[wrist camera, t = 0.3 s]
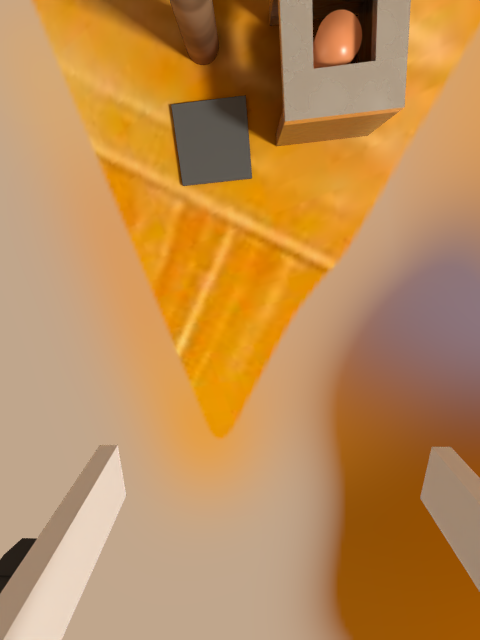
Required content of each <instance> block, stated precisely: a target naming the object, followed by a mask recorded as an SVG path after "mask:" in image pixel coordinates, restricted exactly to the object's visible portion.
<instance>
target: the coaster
mask: <svg viewBox="0 0 480 640" xmlns="http://www.w3.org/2000/svg"><path fill="white" fill-rule="evenodd" d="M171 106H172V113H173V120H174V127H175V134H176V141H177V148H178V155H179V162H180V169H181V176H182V183H183V186H188V185H197V184H206V183H215V182H224V181H233V180H242V179H252V172H251V159H250V146H249V134H248V121H247V108H246V95H245V96H237V97H229V98H221V99H213V100H205V101H197V102H189V103H181V104H173V105H171Z"/></svg>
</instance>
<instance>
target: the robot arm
mask: <svg viewBox="0 0 480 640" xmlns="http://www.w3.org/2000/svg"><path fill="white" fill-rule="evenodd" d="M125 497H126V491H125V486H124V480H123V474H122V468H121V462H120V456H119V450H118V446H117V445H100V446H99V447H98V449H97V450H96V452H95V453H94V455H93V456H92V458H91V459H90V461H89V462H88V463H87V465H86V467H85V468H84V469H83V471H82V472H81V474H80V475H79V477H78V478H77V480H76V481H75V483H74V484H73V486H72V487H71V489H70V490H69V492H68V493H67V495H66V496H65V498H64V499H63V501H62V502H61V504H60V505H59V507H58V508H57V510H56V511H55V513H54V514H53V516H52V517H51V519H50V520H49V522H48V523H47V525H46V526H45V528H44V529H43V531H42V532H41V534H40V535H39V537H38V538H37V539H30V538H29V539H28V538H26V539H25V538H22V539H21V540H20V541H19V542H18V543H17V544H15V545H14V546H13V547H12V548H11V549H10V550H9V551H8V552H7V553H6V554H4V555H3V557H2V558H1V560H0V640H61V639H62V637H63V635H64V633H65V630H66V628H67V626H68V624H69V622H70V619H71V617H72V615H73V613H74V611H75V608H76V606H77V604H78V602H79V599H80V597H81V595H82V593H83V590H84V588H85V586H86V584H87V582H88V579H89V577H90V575H91V572H92V570H93V568H94V566H95V564H96V561H97V559H98V557H99V555H100V552H101V550H102V548H103V546H104V543H105V541H106V539H107V537H108V534H109V532H110V530H111V528H112V526H113V523H114V521H115V519H116V517H117V515H118V512H119V510H120V508H121V505H122V503H123V501H124V499H125ZM421 500H422V501H423V503H424V505H425V506H426V508H427V509H428V511H429V513H430V514H431V516H432V517H433V519H434V520H435V522H436V524H437V525H438V526H439V528H440V530H441V532H442V533H443V535H444V536H445V538H446V539H447V541H448V542H449V544H450V545H451V547H452V549H453V550H454V552H455V553H456V555H457V557H458V558H459V560H460V561H461V563H462V565H463V566H464V568H465V569H466V571H467V572H468V574H469V576H470V577H471V579H472V580H473V582H474V583H475V585H476V587H477V588H478V590H479V591H480V478H479V477H478V476H477V475H476V474H475V473H474V472H473V471H472V470H471V468H470V467H468V465H467V464H466V463H465V462H464V461H463V460H462V459H461V458H460V457H459V455H457V453H456V452H455V451H454V450H453V449H452V448H451V447H432V449H431V454H430V458H429V462H428V467H427V471H426V475H425V480H424V484H423V489H422V493H421Z"/></svg>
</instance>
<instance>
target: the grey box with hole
mask: <svg viewBox="0 0 480 640" xmlns="http://www.w3.org/2000/svg"><path fill="white" fill-rule="evenodd" d="M410 2H411V0H270V7H269V18H270V26H273V25H279V33H280V55H281V76H282V98H283V112H282V115H281V118H280V122H279V125H278V128H277V131H276V146H282V145H291V144H300V143H308V142H317V141H326V140H334V139H343V138H351V137H360V136H368V135H369V134H370V133H372V132H373V131H374V130H375V129H377V128H378V127H379V126H381V125H382V124H383V123H385V122H386V121H387V120H388V119H390V118H391V117H392V116H394V115H395V114H396V113H398V112H399V111H400V110H401V109H403V108H404V106H405V88H406V71H407V54H408V37H409V19H410ZM336 10H347V11H350V12H352V13H353V14H358V20H359V22H360V24H361V28H362V41H361V45H360V48H359V50H358V63H354V64H347V65H339V66H331V67H323V68H316V69H314V66H313V20H317V19H324V18H325V17H326V16H327V15H328V14H330V13H331V12H333V11H336Z"/></svg>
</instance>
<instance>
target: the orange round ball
mask: <svg viewBox="0 0 480 640" xmlns="http://www.w3.org/2000/svg"><path fill="white" fill-rule="evenodd" d="M361 41H362V28H361V24H360V22H359V20H358V18H357V17H356V16H355V15H354V14H353V13H352V12H350V11H347V10H336V11H333V12H331V13H330V14H328V15H327V16H326V17H325V18H324V19H323V21H322V22H321V24H320V26H319V28H318V31H317V34H316V37H315V40H314V42H313V66H314V69H316V68H323V67H331V66H339V65H347V64H350V63H351V62H352V60H353V58H354V57H355V55H356V54H357V52H358V50H359V48H360V45H361Z"/></svg>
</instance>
